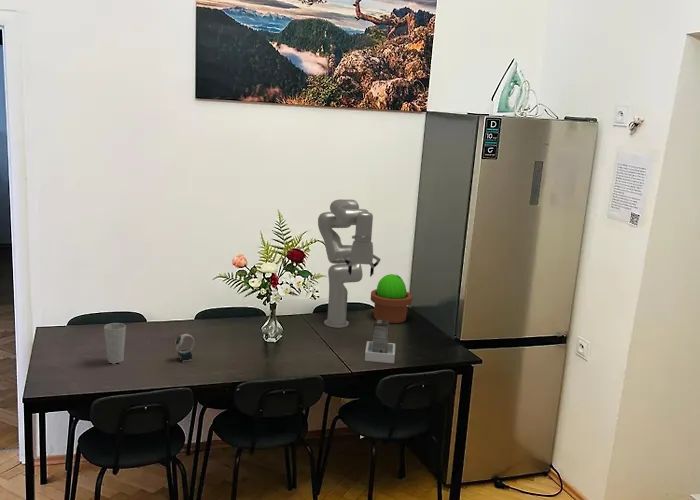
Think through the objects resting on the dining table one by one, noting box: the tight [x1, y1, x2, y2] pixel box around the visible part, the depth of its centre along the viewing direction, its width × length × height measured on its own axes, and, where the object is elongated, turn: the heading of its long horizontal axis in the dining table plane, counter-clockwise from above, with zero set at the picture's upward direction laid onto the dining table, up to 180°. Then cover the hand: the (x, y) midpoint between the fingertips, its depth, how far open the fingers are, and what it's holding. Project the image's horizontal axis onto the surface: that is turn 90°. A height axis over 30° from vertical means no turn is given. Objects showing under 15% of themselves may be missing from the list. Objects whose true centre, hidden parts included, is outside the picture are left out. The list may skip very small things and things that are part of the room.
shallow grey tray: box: [364, 340, 396, 364], centre depth 278 cm, size 14×13×4 cm
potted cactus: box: [370, 273, 413, 324], centre depth 329 cm, size 22×22×25 cm
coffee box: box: [372, 318, 391, 353], centre depth 277 cm, size 9×6×16 cm
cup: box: [103, 322, 127, 363], centre depth 253 cm, size 8×8×16 cm
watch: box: [174, 333, 196, 362], centre depth 260 cm, size 6×8×11 cm
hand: (360, 275), depth 286 cm, fingers open, 9 cm apart
